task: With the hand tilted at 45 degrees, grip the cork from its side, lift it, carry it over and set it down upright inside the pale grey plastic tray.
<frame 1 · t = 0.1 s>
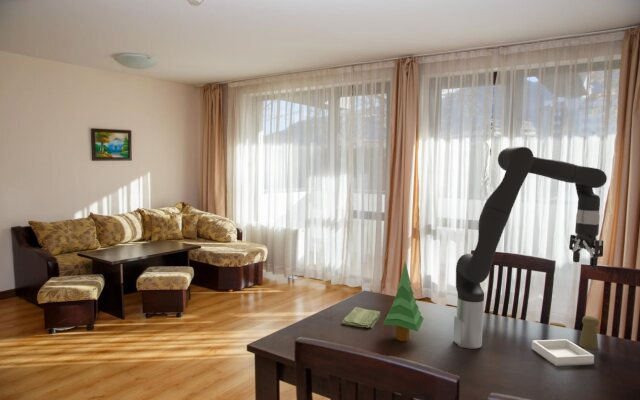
hand: (584, 264, 167), 29 cm above the table, tool pointing down, fingers open, 8 cm apart
cork: (588, 346, 164), on the table
washcloth: (362, 321, 186), on the table
decorative tree: (402, 339, 168), on the table
tray: (561, 356, 155), on the table
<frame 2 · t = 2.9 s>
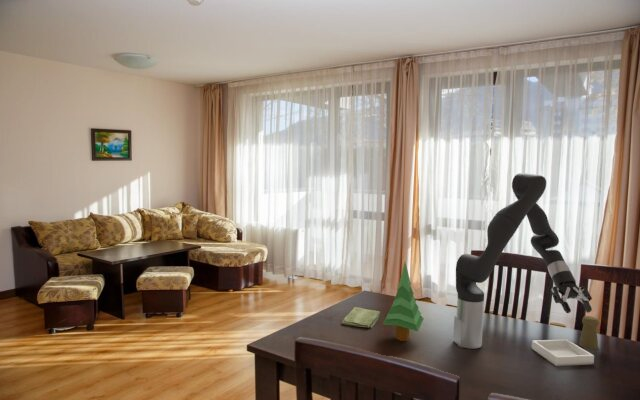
hand: (579, 312, 168), 11 cm above the table, tool tilted 45°, fingers open, 8 cm apart
nothing on the table moved.
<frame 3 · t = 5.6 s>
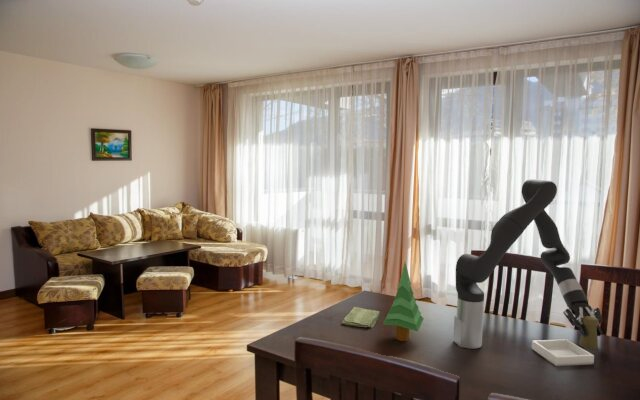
hand: (593, 335, 161), 5 cm above the table, tool tilted 45°, fingers closed on cork, 4 cm apart
cork: (588, 346, 164), on the table, touching gripper
everything else where it was.
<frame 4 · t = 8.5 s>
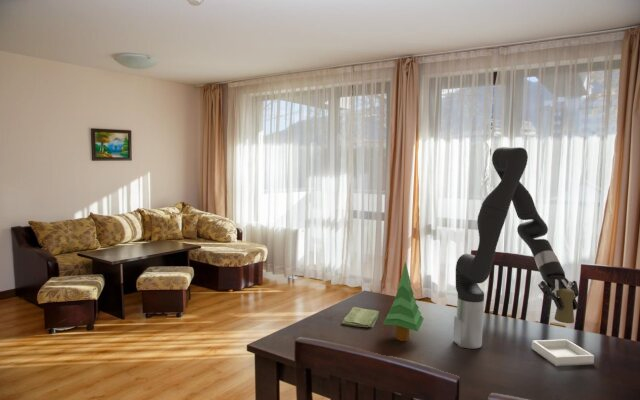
hand: (568, 308, 151), 18 cm above the table, tool tilted 45°, fingers closed on cork, 4 cm apart
cork: (564, 320, 154), point 13 cm above the table, touching gripper
everything else where it was.
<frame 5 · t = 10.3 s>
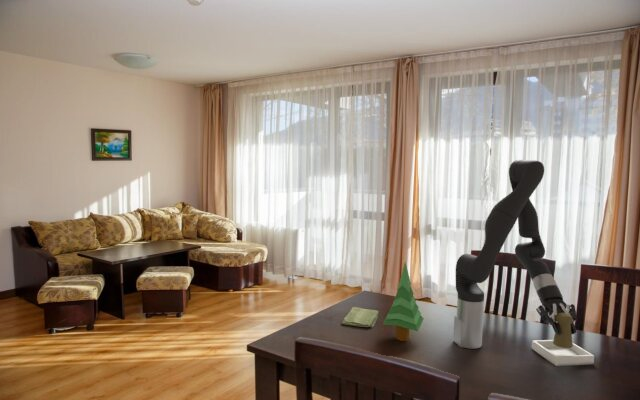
hand: (567, 333, 152), 9 cm above the table, tool tilted 45°, fingers closed on cork, 4 cm apart
cork: (562, 344, 154), point 4 cm above the table, touching gripper
everything else where it was.
when the fingers open (7 cm above the table, at t = 11.6 s): cork drops 1 cm, resting on tray.
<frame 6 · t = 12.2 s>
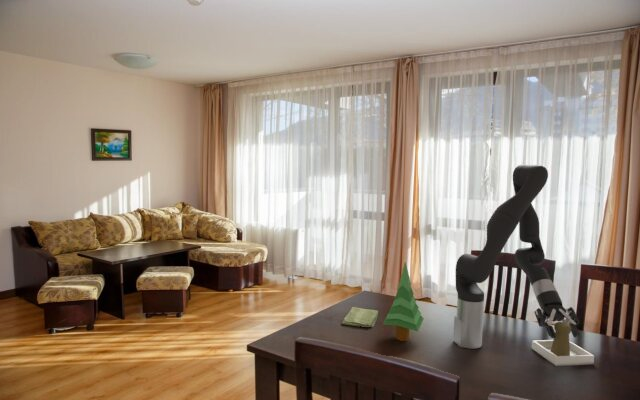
hand: (565, 337, 152), 7 cm above the table, tool tilted 45°, fingers open, 8 cm apart
cork: (560, 354, 155), resting on tray
everything else where it was.
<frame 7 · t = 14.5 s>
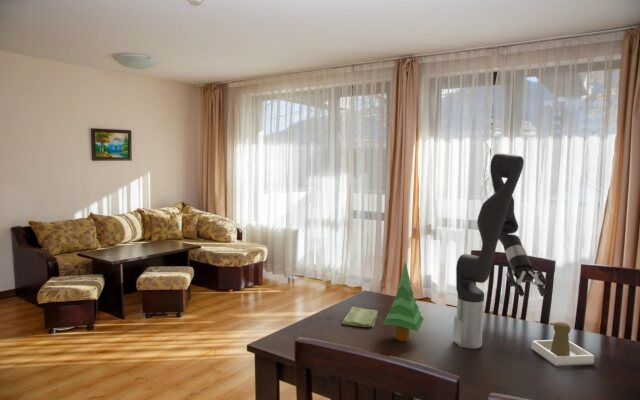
hand: (533, 295, 168), 17 cm above the table, tool tilted 45°, fingers open, 8 cm apart
nothing on the table moved.
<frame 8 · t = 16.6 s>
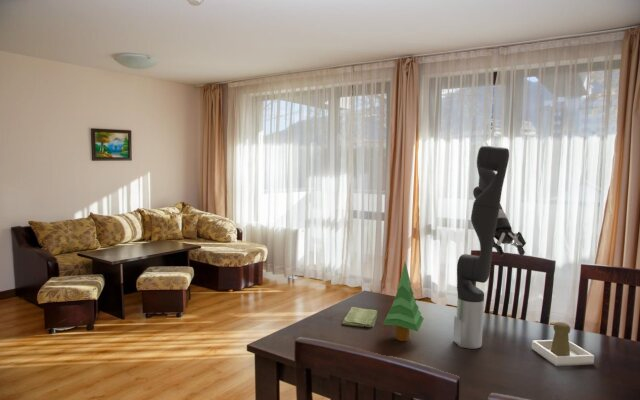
hand: (512, 255, 174), 31 cm above the table, tool tilted 45°, fingers open, 8 cm apart
nothing on the table moved.
at the end: cork inside the target area on the tray (0.6 cm from its centre), point 0.4 cm above the tray's base; cork tilted 0°; the gripper is holding nothing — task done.
